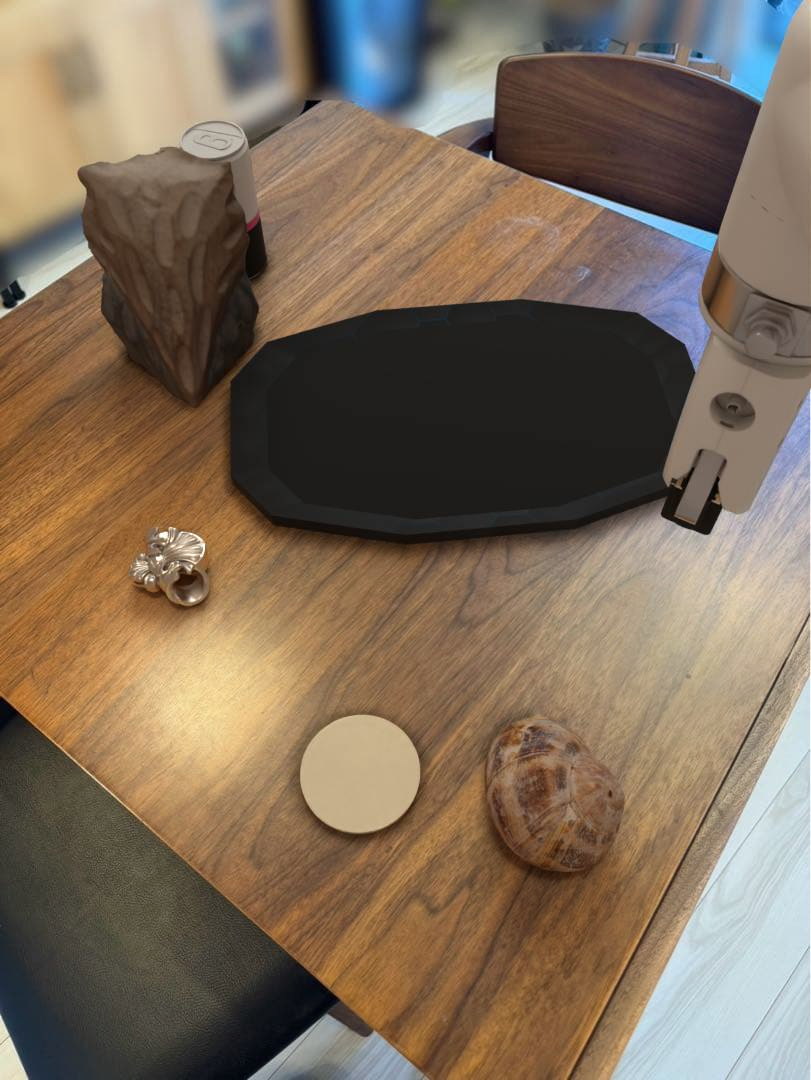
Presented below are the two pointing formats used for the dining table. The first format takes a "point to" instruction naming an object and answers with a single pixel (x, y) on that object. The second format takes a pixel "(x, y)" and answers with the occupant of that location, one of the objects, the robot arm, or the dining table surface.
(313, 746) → the coaster
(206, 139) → the beverage can
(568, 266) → the dining table surface
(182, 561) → the ornament
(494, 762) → the seashell
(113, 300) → the brown rock
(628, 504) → the tray
